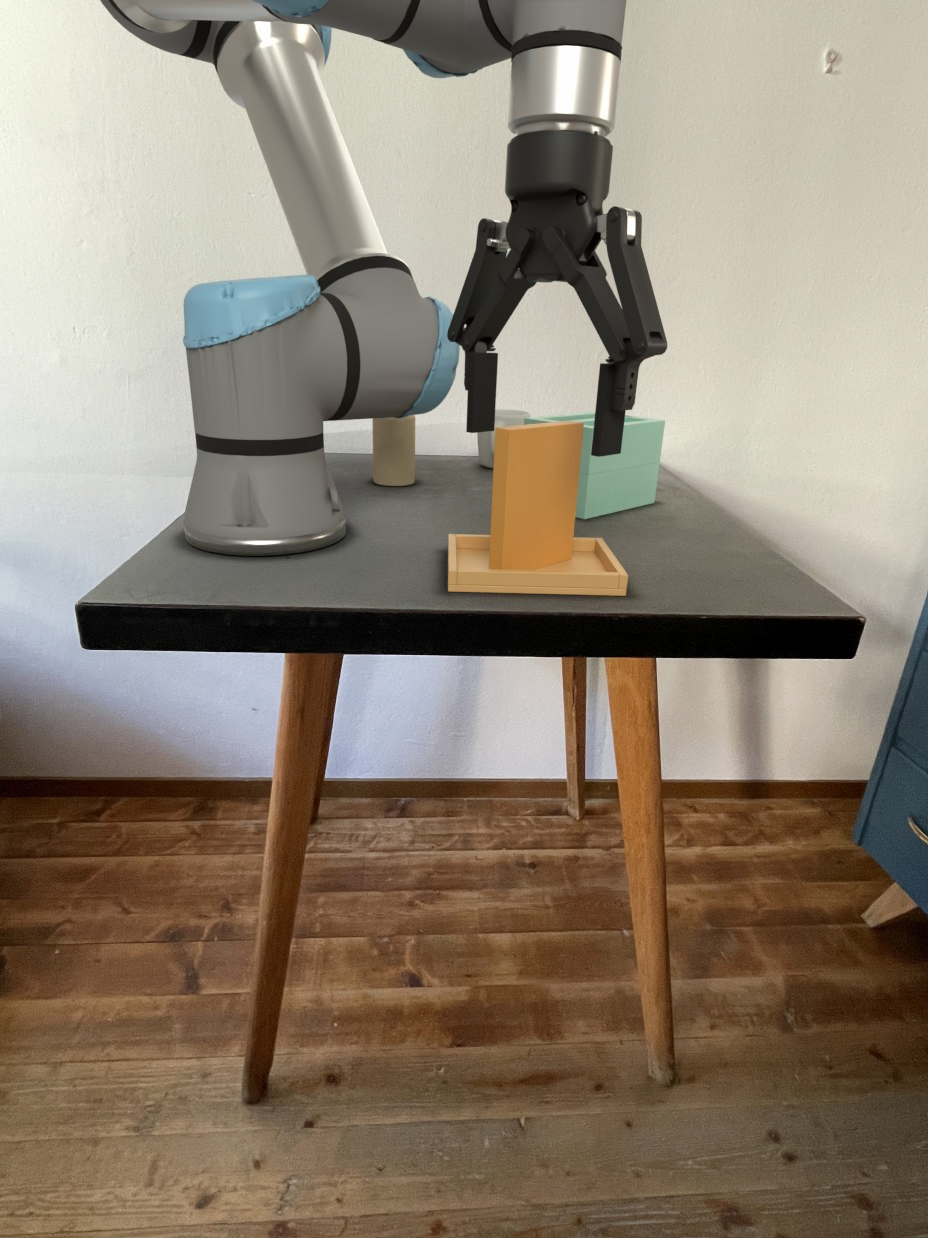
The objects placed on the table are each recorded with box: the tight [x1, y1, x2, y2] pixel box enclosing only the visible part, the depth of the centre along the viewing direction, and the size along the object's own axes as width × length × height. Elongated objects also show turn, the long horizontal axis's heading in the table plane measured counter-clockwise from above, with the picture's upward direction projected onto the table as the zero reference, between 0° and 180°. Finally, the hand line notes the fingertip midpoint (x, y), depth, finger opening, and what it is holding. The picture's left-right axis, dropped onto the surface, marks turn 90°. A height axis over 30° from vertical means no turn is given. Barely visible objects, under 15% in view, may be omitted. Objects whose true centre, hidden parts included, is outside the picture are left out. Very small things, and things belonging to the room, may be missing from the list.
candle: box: [372, 415, 416, 487], centre depth 96 cm, size 6×6×10 cm
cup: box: [476, 408, 532, 470], centre depth 108 cm, size 11×8×8 cm
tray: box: [447, 533, 629, 597], centre depth 64 cm, size 14×11×2 cm
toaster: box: [524, 411, 666, 520], centre depth 88 cm, size 10×15×10 cm, turn 133°
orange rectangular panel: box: [489, 421, 584, 570], centre depth 62 cm, size 2×9×12 cm, turn 133°
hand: (538, 442), depth 60 cm, fingers open, 13 cm apart
